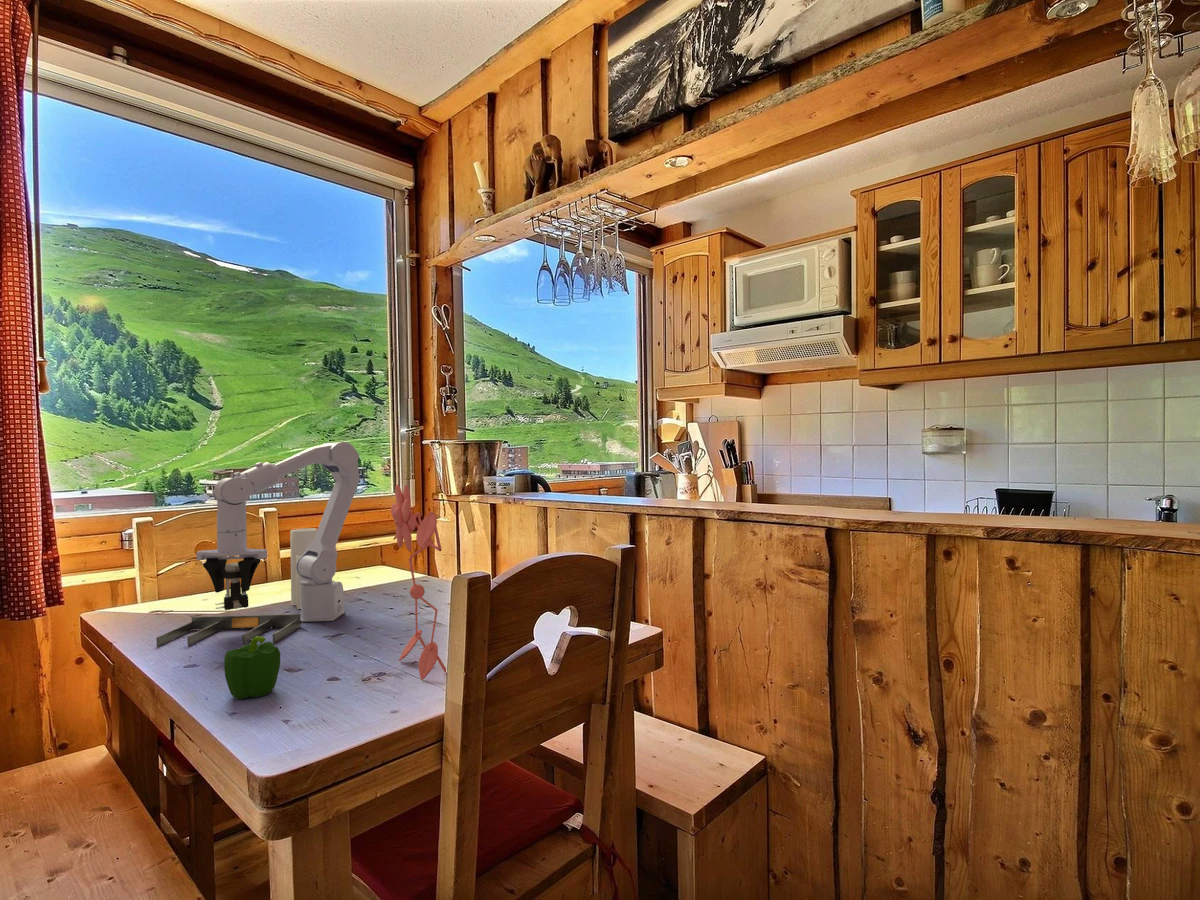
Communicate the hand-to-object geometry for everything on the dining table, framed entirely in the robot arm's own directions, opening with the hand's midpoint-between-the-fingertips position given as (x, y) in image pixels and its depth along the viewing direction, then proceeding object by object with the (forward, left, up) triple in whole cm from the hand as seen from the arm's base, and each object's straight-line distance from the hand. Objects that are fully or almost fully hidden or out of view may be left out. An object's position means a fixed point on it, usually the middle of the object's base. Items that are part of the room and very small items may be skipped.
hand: (232, 591), depth 137 cm
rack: (0, +1, -10) cm, 10 cm away
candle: (-5, -27, -10) cm, 29 cm away
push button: (+1, -2, -4) cm, 5 cm away
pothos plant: (-45, +27, -10) cm, 54 cm away
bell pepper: (-22, +35, -10) cm, 43 cm away
